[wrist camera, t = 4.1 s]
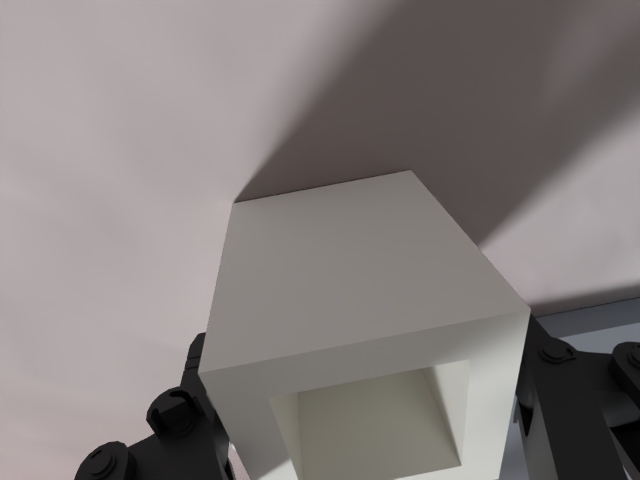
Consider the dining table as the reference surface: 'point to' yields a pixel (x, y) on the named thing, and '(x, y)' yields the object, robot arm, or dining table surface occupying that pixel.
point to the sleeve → (361, 338)
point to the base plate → (584, 335)
